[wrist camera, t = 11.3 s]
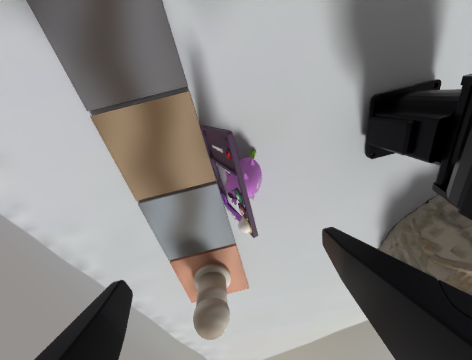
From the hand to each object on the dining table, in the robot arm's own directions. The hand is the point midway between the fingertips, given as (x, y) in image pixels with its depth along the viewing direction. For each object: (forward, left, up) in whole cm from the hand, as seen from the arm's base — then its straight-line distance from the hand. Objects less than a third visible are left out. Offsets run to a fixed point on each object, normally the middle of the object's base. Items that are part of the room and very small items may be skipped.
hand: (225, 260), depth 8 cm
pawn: (+5, +15, -12) cm, 20 cm away
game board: (+5, +1, -12) cm, 13 cm away
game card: (-2, 0, -12) cm, 12 cm away
